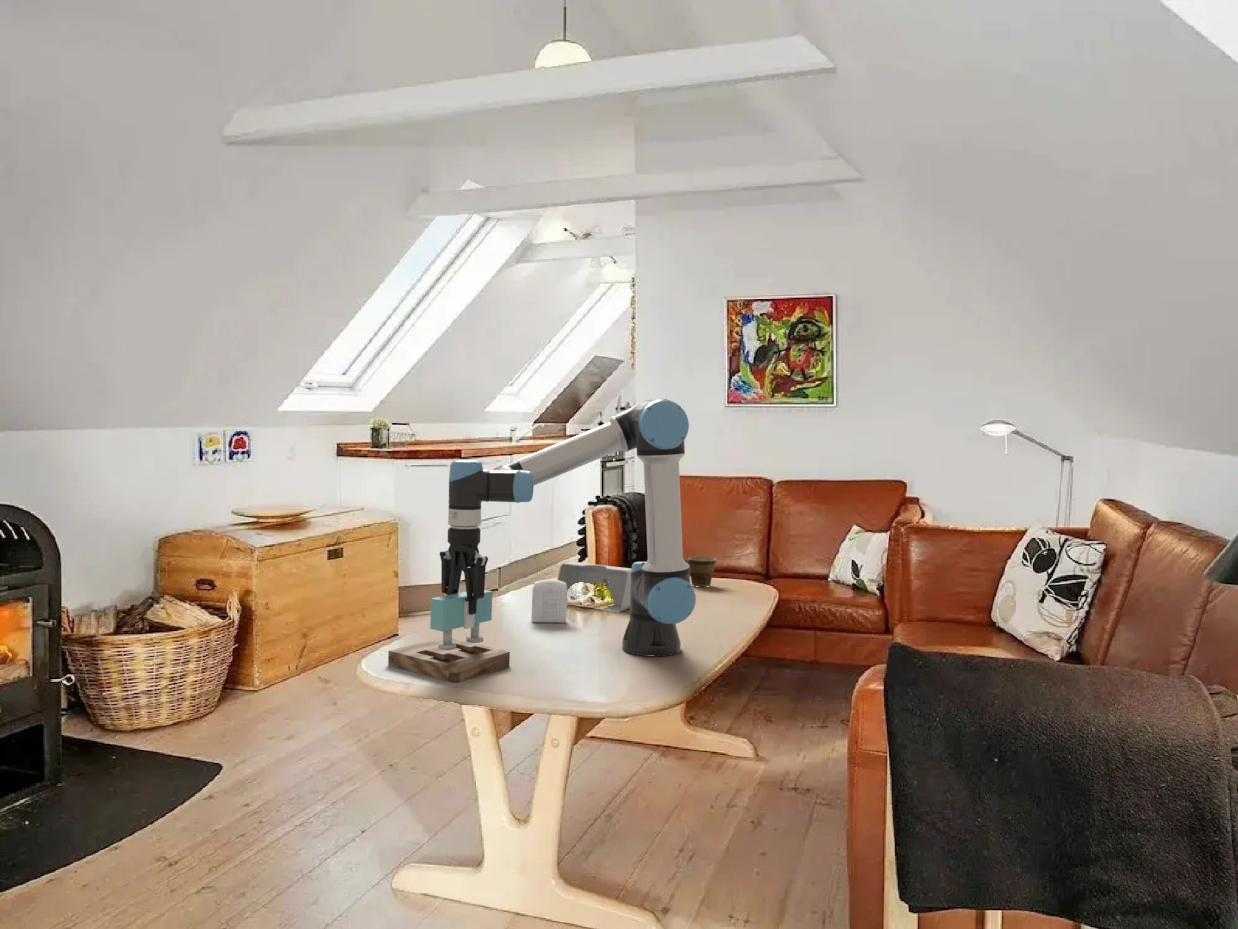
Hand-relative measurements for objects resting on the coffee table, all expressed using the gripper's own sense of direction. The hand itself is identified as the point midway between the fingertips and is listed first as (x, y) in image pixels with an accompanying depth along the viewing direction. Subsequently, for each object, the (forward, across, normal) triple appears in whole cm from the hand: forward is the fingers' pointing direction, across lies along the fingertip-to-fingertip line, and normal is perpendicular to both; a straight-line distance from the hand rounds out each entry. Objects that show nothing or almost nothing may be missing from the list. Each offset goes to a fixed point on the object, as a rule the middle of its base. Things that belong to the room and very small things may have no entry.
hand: (461, 626), depth 213 cm
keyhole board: (+10, -4, 0) cm, 11 cm away
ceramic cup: (+10, -13, +133) cm, 134 cm away
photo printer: (+10, -16, +52) cm, 55 cm away
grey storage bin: (+10, -21, +83) cm, 86 cm away
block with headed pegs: (+4, 0, 0) cm, 4 cm away
